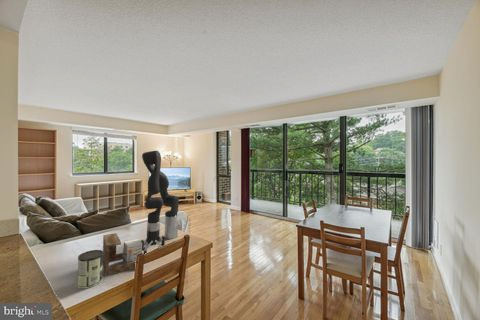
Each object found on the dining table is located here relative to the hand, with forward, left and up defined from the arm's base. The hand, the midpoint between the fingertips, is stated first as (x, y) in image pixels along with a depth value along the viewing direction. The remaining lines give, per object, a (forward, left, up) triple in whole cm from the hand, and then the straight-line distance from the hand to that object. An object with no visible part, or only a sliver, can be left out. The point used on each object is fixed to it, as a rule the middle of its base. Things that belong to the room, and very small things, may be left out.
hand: (152, 254), depth 133 cm
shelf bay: (+17, 0, -2) cm, 17 cm away
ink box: (+12, -1, -2) cm, 12 cm away
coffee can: (+33, +11, -2) cm, 34 cm away
